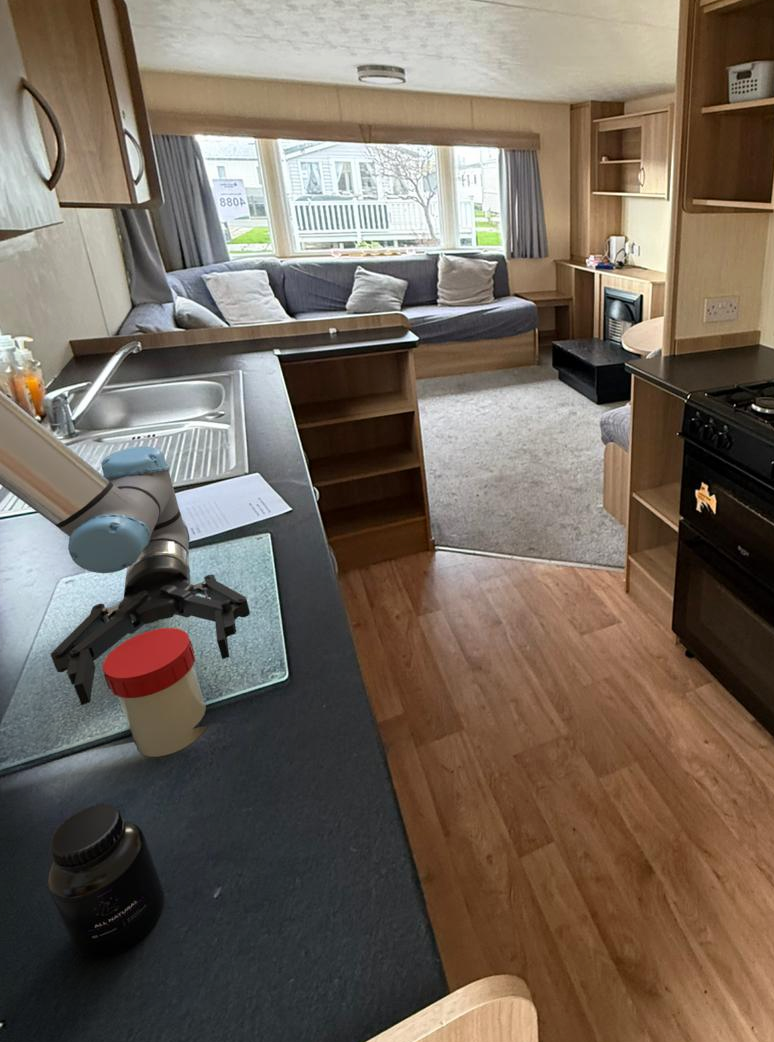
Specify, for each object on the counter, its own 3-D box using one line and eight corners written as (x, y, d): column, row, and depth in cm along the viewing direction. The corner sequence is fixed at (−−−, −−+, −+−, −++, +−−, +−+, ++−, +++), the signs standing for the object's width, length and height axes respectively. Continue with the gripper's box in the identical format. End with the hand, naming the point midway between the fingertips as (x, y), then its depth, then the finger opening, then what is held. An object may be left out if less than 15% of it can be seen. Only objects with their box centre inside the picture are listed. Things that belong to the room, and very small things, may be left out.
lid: (196, 679, 75) (190, 659, 73) (107, 709, 70) (99, 688, 69) (193, 638, 81) (187, 619, 80) (112, 663, 77) (105, 644, 76)
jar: (146, 768, 74) (117, 690, 70) (129, 732, 79) (101, 657, 75) (218, 729, 79) (195, 655, 75) (197, 697, 84) (175, 626, 80)
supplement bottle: (123, 970, 56) (80, 876, 51) (56, 954, 57) (8, 861, 52) (184, 888, 62) (150, 799, 57) (122, 876, 63) (85, 787, 58)
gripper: (262, 574, 98) (281, 656, 81) (54, 631, 86) (26, 742, 69) (252, 531, 95) (269, 607, 79) (36, 584, 83) (2, 687, 66)
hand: (155, 670), depth 74 cm, fingers open, 13 cm apart
